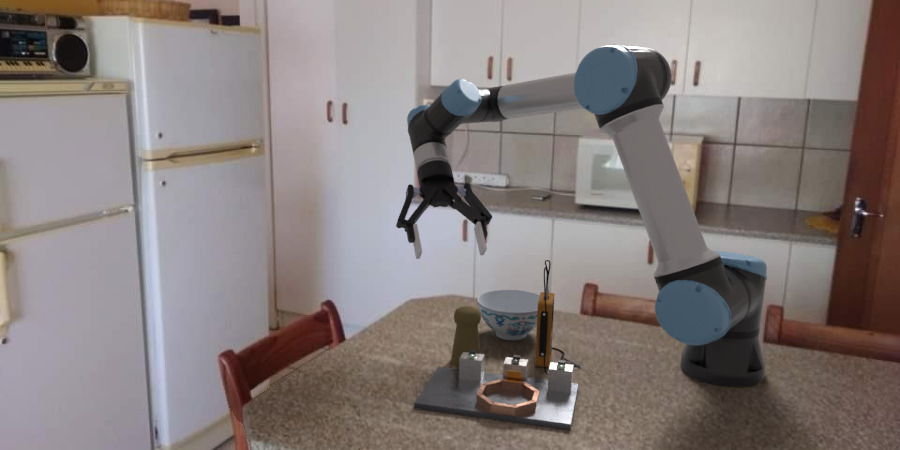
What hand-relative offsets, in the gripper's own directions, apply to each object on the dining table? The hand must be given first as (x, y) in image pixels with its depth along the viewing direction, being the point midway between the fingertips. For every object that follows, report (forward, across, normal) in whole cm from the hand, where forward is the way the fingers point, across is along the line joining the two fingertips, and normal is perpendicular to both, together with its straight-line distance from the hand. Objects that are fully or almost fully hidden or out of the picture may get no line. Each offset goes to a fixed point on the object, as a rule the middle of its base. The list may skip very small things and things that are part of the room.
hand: (451, 253), depth 145 cm
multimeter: (+24, -18, -3) cm, 31 cm away
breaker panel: (+32, -1, +6) cm, 33 cm away
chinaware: (+13, -14, -14) cm, 24 cm away
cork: (+21, 0, -6) cm, 22 cm away
